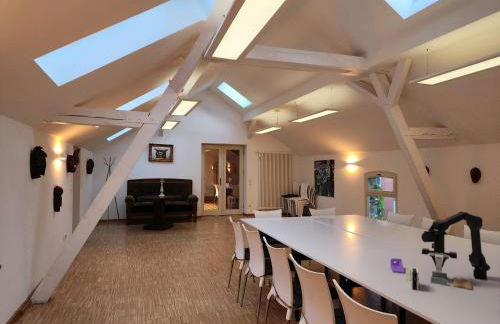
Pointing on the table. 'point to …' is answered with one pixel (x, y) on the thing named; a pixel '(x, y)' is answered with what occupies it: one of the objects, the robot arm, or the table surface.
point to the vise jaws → (439, 278)
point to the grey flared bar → (439, 264)
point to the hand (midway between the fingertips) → (439, 267)
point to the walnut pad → (462, 283)
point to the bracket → (397, 266)
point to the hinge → (412, 276)
